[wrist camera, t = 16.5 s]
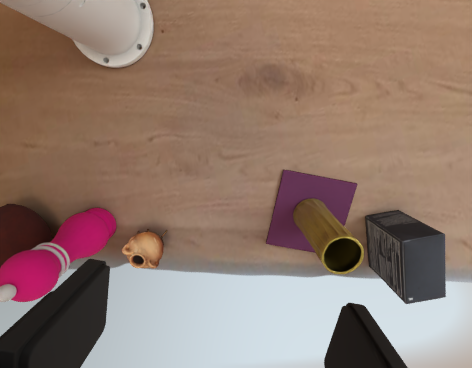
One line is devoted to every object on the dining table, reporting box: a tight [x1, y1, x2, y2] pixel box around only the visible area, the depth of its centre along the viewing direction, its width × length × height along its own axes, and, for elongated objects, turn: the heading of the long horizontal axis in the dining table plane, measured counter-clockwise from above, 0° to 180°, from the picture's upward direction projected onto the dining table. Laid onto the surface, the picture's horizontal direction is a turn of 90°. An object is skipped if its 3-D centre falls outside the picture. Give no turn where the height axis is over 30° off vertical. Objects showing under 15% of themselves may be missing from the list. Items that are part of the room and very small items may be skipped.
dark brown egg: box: [0, 204, 52, 268], centre depth 42 cm, size 9×12×9 cm
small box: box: [365, 210, 446, 304], centre depth 41 cm, size 11×6×10 cm, turn 11°
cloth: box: [266, 170, 357, 253], centre depth 45 cm, size 14×13×1 cm
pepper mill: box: [0, 208, 116, 302], centre depth 36 cm, size 7×7×20 cm
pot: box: [122, 229, 167, 268], centre depth 43 cm, size 6×8×6 cm
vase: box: [293, 199, 364, 274], centre depth 38 cm, size 6×6×14 cm
